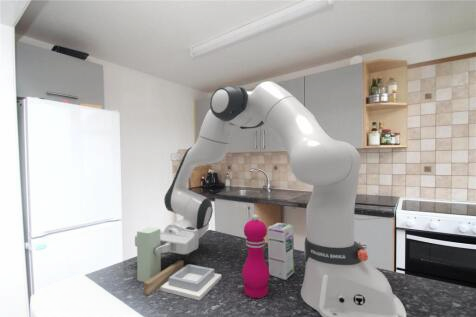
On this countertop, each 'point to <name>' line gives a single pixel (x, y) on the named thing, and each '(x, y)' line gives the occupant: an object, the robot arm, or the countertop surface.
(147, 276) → the sage bar
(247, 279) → the pepper mill
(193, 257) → the countertop surface
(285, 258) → the syrup box
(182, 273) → the grey keeper socket
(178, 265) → the oak board
